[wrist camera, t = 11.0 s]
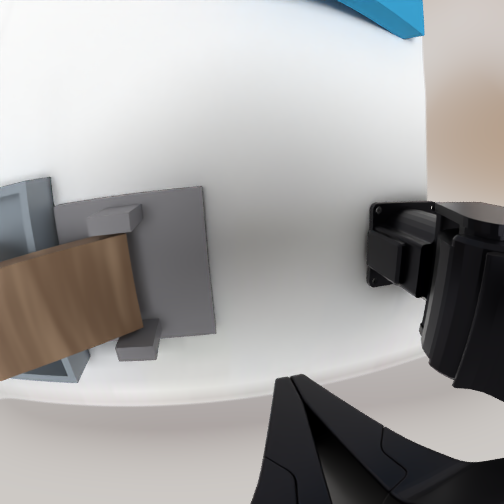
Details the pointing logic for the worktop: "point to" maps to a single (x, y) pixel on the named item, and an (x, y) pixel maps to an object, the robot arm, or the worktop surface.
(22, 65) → the worktop surface
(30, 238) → the bin
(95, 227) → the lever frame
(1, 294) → the brown wooden angled piece
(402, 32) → the lever
